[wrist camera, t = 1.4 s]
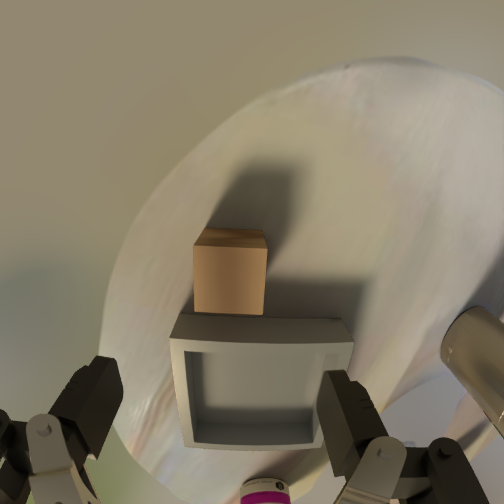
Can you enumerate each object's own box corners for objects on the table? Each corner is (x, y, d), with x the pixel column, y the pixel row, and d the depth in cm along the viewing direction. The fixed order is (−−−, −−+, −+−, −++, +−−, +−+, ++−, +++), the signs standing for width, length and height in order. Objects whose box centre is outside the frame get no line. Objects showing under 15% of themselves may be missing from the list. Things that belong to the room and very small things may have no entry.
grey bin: (340, 318, 28) (354, 342, 24) (314, 422, 33) (320, 447, 28) (179, 313, 28) (169, 338, 23) (189, 420, 32) (184, 446, 28)
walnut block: (262, 230, 26) (267, 248, 20) (258, 283, 27) (262, 314, 21) (204, 227, 25) (193, 245, 20) (204, 281, 27) (194, 311, 21)
